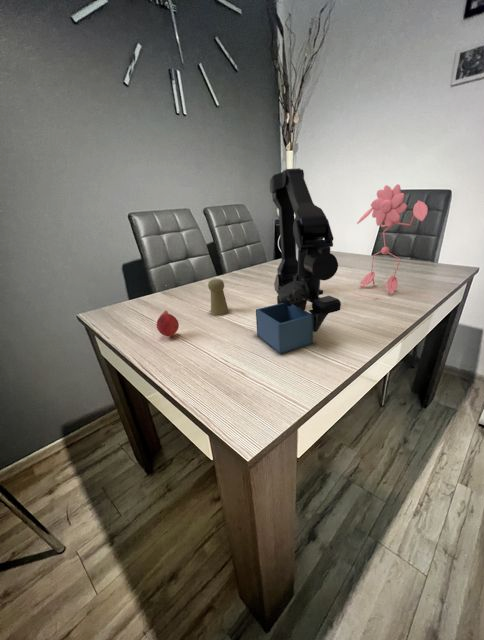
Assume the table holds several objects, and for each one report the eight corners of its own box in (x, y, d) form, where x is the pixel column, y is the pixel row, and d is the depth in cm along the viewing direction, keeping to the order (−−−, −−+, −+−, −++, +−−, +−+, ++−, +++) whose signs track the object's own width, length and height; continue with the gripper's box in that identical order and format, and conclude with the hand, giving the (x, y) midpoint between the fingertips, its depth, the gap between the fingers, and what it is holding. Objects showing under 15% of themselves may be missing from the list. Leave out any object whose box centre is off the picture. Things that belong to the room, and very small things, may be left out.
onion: (169, 343, 75) (162, 316, 71) (155, 338, 78) (148, 312, 74) (185, 334, 79) (179, 308, 75) (171, 331, 82) (165, 305, 78)
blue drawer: (296, 325, 81) (296, 299, 77) (322, 340, 72) (324, 312, 68) (257, 336, 76) (255, 309, 72) (280, 354, 67) (279, 324, 63)
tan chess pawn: (225, 315, 91) (221, 282, 85) (208, 314, 92) (203, 282, 87) (230, 308, 96) (227, 277, 90) (214, 308, 97) (210, 277, 92)
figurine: (358, 281, 117) (370, 186, 100) (417, 295, 98) (444, 181, 80) (333, 288, 110) (341, 188, 92) (390, 305, 91) (414, 182, 73)
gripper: (263, 268, 72) (265, 322, 80) (305, 284, 58) (303, 348, 65) (297, 262, 76) (296, 314, 84) (345, 275, 62) (339, 336, 70)
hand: (307, 327), depth 76 cm, fingers closed on blue drawer, 7 cm apart
